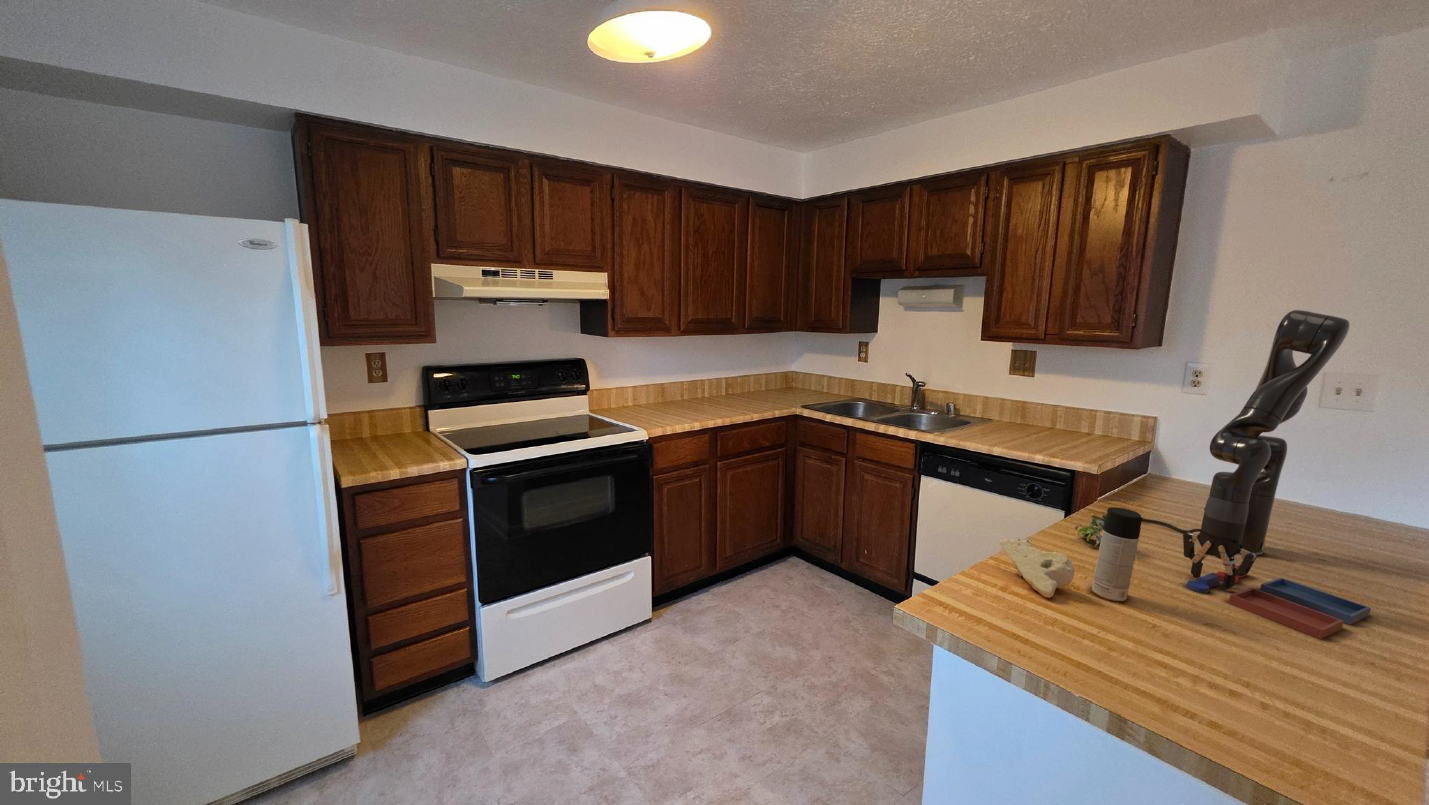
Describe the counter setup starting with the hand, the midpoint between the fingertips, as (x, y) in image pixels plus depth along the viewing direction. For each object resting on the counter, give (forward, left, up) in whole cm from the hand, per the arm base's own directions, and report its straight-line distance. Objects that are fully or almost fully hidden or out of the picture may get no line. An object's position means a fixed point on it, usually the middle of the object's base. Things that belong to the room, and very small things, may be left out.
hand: (1210, 582), depth 136 cm
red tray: (+14, -2, -1) cm, 14 cm away
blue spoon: (0, -3, -1) cm, 3 cm away
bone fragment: (-17, -44, -1) cm, 47 cm away
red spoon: (0, +11, -1) cm, 11 cm away
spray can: (-6, -31, -1) cm, 32 cm away
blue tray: (+14, +13, -1) cm, 19 cm away
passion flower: (-24, -2, -1) cm, 24 cm away
